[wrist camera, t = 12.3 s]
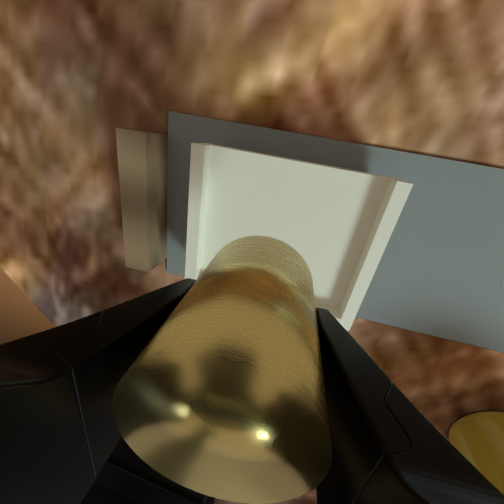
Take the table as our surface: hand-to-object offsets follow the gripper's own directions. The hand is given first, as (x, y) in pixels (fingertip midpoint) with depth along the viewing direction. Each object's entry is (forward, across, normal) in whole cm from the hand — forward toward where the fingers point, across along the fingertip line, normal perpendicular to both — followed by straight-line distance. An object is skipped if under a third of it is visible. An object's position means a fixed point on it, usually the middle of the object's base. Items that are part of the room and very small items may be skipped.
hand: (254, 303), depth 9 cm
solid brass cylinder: (+1, 0, 0) cm, 1 cm away
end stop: (+11, +10, 0) cm, 15 cm away
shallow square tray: (+11, 0, 0) cm, 11 cm away
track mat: (+11, -6, 0) cm, 12 cm away
